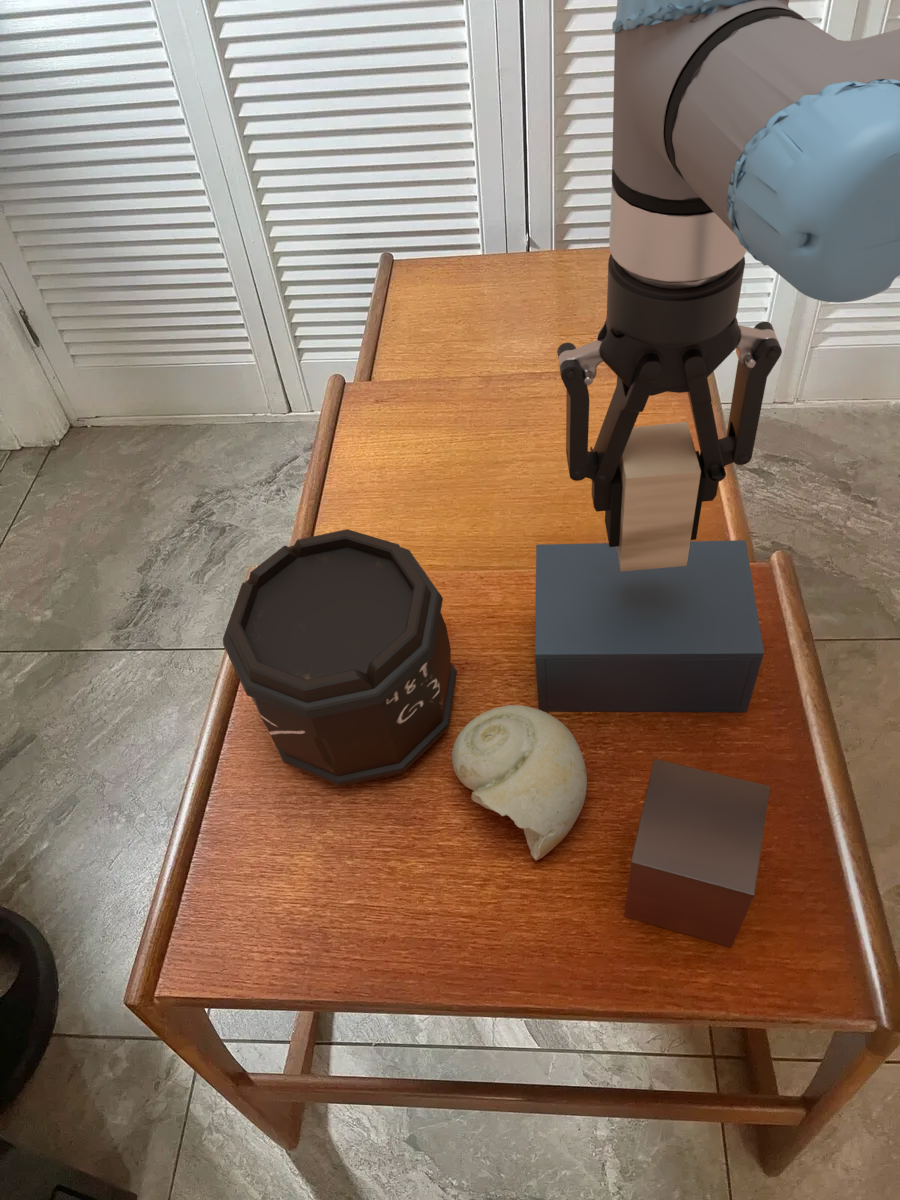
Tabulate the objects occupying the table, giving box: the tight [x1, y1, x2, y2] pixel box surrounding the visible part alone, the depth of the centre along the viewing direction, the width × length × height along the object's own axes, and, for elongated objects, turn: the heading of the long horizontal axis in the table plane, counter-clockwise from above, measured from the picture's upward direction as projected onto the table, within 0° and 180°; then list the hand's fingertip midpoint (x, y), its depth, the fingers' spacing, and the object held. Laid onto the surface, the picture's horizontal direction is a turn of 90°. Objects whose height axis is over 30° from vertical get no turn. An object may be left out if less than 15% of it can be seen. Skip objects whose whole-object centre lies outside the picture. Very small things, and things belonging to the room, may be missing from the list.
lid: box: [534, 539, 765, 660], centre depth 76 cm, size 12×18×1 cm, turn 86°
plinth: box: [623, 758, 771, 948], centre depth 66 cm, size 8×8×11 cm
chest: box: [534, 658, 763, 713], centre depth 79 cm, size 11×18×8 cm, turn 86°
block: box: [616, 421, 701, 572], centre depth 66 cm, size 5×5×10 cm
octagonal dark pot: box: [222, 528, 458, 787], centre depth 77 cm, size 18×18×16 cm
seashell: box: [451, 704, 588, 861], centre depth 73 cm, size 13×8×10 cm
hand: (649, 529), depth 69 cm, fingers closed on block, 5 cm apart
